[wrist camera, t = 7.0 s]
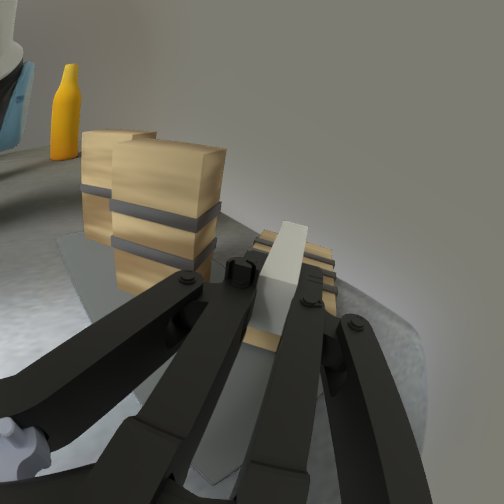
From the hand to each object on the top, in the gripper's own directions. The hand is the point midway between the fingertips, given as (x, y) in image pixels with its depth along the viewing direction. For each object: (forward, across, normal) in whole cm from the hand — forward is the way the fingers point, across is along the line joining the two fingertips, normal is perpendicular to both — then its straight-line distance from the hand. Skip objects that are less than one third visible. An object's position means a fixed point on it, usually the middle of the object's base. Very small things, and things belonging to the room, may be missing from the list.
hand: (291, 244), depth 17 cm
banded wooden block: (+7, -19, -8) cm, 22 cm away
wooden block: (+2, -10, -8) cm, 12 cm away
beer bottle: (+40, -70, -8) cm, 81 cm away
